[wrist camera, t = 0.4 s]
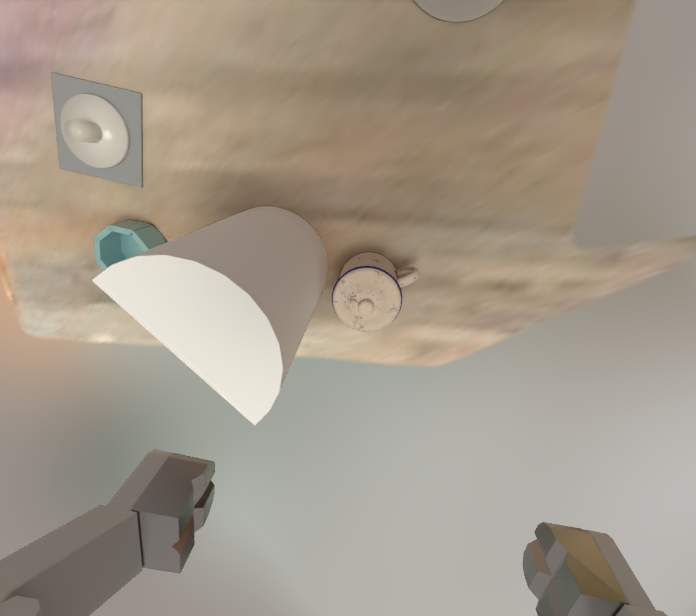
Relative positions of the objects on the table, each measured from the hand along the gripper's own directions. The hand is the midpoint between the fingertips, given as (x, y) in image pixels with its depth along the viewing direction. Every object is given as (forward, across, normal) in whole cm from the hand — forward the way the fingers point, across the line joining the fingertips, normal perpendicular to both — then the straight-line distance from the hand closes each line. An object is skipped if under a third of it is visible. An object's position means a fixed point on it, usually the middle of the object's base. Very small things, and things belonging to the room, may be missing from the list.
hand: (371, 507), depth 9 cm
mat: (+46, +40, -5) cm, 61 cm away
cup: (+46, +35, +11) cm, 59 cm away
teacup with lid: (+47, -1, +9) cm, 47 cm away
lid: (+46, +40, -5) cm, 61 cm away
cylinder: (+47, +15, +10) cm, 50 cm away
